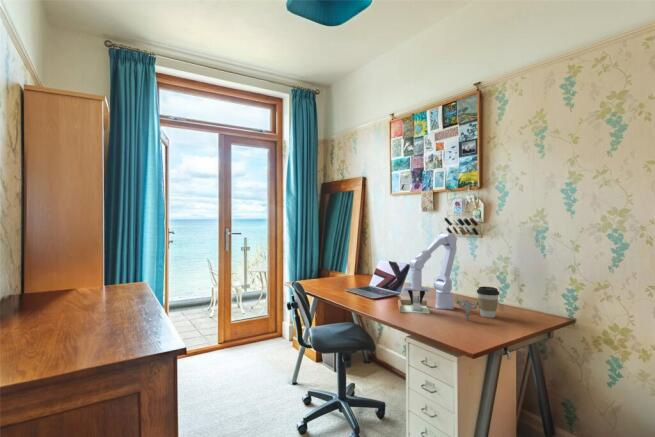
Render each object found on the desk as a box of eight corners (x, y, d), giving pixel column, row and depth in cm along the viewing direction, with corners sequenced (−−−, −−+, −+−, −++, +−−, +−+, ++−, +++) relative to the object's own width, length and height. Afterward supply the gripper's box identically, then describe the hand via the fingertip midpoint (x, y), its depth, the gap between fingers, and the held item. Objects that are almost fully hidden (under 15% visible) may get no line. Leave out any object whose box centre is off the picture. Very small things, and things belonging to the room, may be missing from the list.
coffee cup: (476, 312, 193) (477, 285, 193) (499, 314, 188) (499, 287, 188) (475, 317, 183) (476, 289, 182) (499, 320, 178) (499, 291, 178)
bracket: (420, 310, 193) (420, 298, 193) (413, 310, 193) (413, 297, 193) (418, 306, 201) (418, 294, 201) (411, 306, 202) (411, 294, 202)
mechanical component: (478, 321, 175) (478, 302, 175) (457, 320, 177) (457, 301, 177) (477, 320, 178) (477, 300, 177) (456, 318, 180) (456, 299, 180)
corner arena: (426, 306, 205) (426, 300, 205) (430, 313, 189) (430, 307, 189) (397, 304, 207) (397, 299, 207) (399, 312, 191) (399, 305, 191)
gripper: (428, 279, 199) (428, 302, 199) (402, 278, 201) (402, 301, 201) (430, 281, 192) (430, 305, 192) (403, 280, 194) (403, 304, 194)
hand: (416, 303), depth 196 cm, fingers closed on bracket, 4 cm apart
